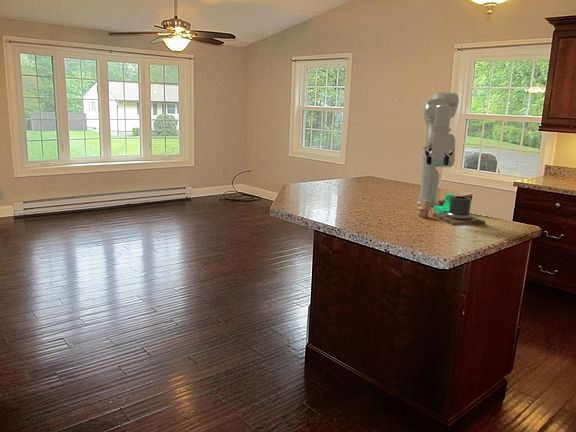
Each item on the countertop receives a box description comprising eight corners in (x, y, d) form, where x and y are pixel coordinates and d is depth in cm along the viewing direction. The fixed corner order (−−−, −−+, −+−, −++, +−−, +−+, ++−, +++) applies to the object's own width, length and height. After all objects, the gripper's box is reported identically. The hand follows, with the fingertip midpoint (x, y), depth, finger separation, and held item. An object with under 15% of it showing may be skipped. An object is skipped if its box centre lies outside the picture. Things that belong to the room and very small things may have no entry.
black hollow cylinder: (441, 214, 249) (443, 195, 246) (462, 214, 251) (464, 195, 249) (454, 220, 237) (457, 200, 235) (476, 219, 240) (478, 200, 238)
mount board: (432, 216, 251) (433, 213, 251) (463, 215, 255) (464, 213, 255) (452, 224, 234) (452, 221, 234) (484, 224, 238) (485, 221, 238)
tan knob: (414, 215, 251) (416, 198, 249) (425, 215, 253) (427, 198, 251) (420, 218, 245) (422, 201, 243) (432, 218, 247) (434, 201, 244)
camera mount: (432, 210, 266) (434, 192, 264) (445, 210, 268) (447, 192, 265) (442, 215, 255) (445, 196, 253) (456, 215, 256) (458, 196, 254)
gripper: (451, 130, 247) (447, 164, 250) (421, 129, 243) (418, 163, 246) (460, 131, 240) (456, 166, 243) (429, 129, 235) (425, 165, 239)
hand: (437, 164), depth 245 cm, fingers open, 9 cm apart
